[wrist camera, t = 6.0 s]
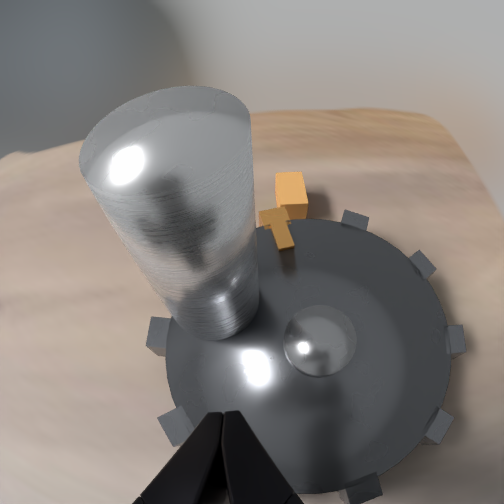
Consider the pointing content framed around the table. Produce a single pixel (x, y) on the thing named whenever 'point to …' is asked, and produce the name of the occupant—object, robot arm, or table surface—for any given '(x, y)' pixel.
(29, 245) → the table surface
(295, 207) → the orange rectangular block
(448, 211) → the table surface
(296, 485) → the sprocket
